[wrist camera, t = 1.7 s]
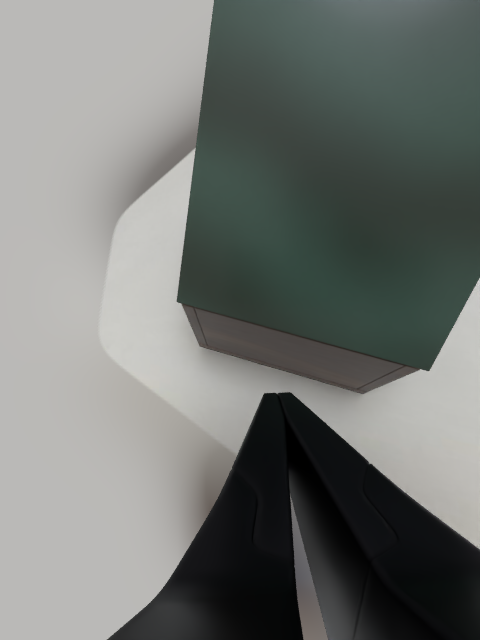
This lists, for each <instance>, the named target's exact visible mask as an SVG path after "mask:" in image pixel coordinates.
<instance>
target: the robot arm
mask: <svg viewBox="0 0 480 640" xmlns="http://www.w3.org/2000/svg"><path fill="white" fill-rule="evenodd" d="M290 494H291V498H292V502H293V506H294V510H295V514H296V517H297V521H298V525H299V529H300V533H301V536H302V540H303V544H304V548H305V552H306V555H307V560H308V563H309V567H310V571H311V575H312V578H313V583H314V586H315V590H316V594H317V598H318V602H319V606H320V609H321V613H322V617H323V621H324V625H325V629H326V632H327V636H328V640H480V549H478V548H477V547H476V546H474V545H473V544H472V543H470V542H469V541H468V540H466V539H465V538H464V537H462V536H461V535H460V534H458V533H457V532H456V531H454V530H453V529H452V528H450V527H449V526H448V525H446V524H445V523H444V522H442V521H441V520H440V519H439V518H437V517H436V516H435V515H433V514H432V513H431V512H429V511H428V510H427V509H425V508H424V507H423V506H421V505H420V504H419V503H418V502H416V501H415V500H414V499H412V498H411V497H410V496H409V495H407V494H406V493H405V492H403V491H402V490H401V489H400V488H399V487H397V486H396V485H395V484H394V483H393V482H392V481H390V480H389V479H388V478H387V477H386V476H384V475H383V474H382V473H381V472H380V471H379V470H378V469H377V468H375V467H374V466H373V465H372V464H369V462H368V461H367V460H366V459H365V458H364V457H363V456H362V455H361V454H359V453H358V452H357V451H356V450H355V449H354V448H353V447H352V446H350V445H349V444H348V443H347V442H346V441H345V440H344V439H343V438H341V437H340V436H339V435H338V434H337V433H336V432H335V431H334V430H332V429H331V428H330V427H329V426H328V425H327V424H326V423H325V422H323V421H322V420H321V419H320V418H319V417H318V416H317V415H316V414H314V413H313V412H312V411H311V410H310V409H309V408H308V407H307V406H305V405H304V404H303V403H302V402H301V401H300V400H299V399H298V398H297V397H295V396H294V395H293V394H292V393H290V392H285V393H278V395H277V394H276V393H265V394H264V395H263V397H262V399H261V402H260V404H259V406H258V409H257V411H256V413H255V416H254V418H253V420H252V423H251V425H250V427H249V429H248V432H247V434H246V436H245V439H244V441H243V443H242V446H241V448H240V450H239V453H238V455H237V457H236V460H235V462H234V465H233V467H232V470H231V471H230V473H229V476H228V478H227V480H226V483H225V485H224V487H223V489H222V491H221V493H220V495H219V497H218V499H217V501H216V502H215V504H214V506H213V508H212V510H211V511H210V513H209V515H208V517H207V518H206V520H205V522H204V523H203V525H202V527H201V528H200V530H199V532H198V533H197V535H196V537H195V538H194V540H193V541H192V543H191V545H190V547H189V548H188V550H187V551H186V553H185V555H184V556H183V558H182V560H181V561H180V563H179V565H178V566H177V568H176V569H175V571H174V573H173V574H172V576H171V577H170V579H169V580H168V582H167V583H166V585H165V586H164V587H163V589H162V590H161V591H160V592H159V594H158V595H157V596H156V597H155V598H154V599H153V600H152V601H151V602H150V603H149V604H148V605H147V606H146V607H145V608H144V609H143V610H141V611H140V612H139V613H138V614H137V615H135V616H134V617H133V618H132V619H131V620H130V621H128V622H127V623H126V624H125V625H124V626H123V627H121V628H120V629H119V630H118V631H117V632H116V633H114V634H113V635H112V636H111V637H110V638H109V639H107V640H303V634H302V627H301V621H300V615H299V608H298V600H297V590H296V579H295V568H294V550H293V549H294V548H293V533H292V518H291V502H290Z"/></svg>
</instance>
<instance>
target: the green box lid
mask: <svg viewBox="0 0 480 640" xmlns="http://www.w3.org/2000/svg"><path fill="white" fill-rule="evenodd" d="M479 278H480V0H214V6H213V14H212V22H211V30H210V38H209V46H208V54H207V62H206V70H205V78H204V86H203V94H202V102H201V110H200V118H199V127H198V135H197V143H196V151H195V159H194V167H193V175H192V183H191V191H190V199H189V207H188V215H187V223H186V231H185V239H184V247H183V255H182V264H181V272H180V280H179V288H178V296H177V302H179V303H182V304H186V305H190V306H193V307H197V308H200V309H204V310H208V311H211V312H215V313H219V314H222V315H226V316H230V317H233V318H237V319H240V320H244V321H248V322H251V323H255V324H259V325H262V326H266V327H270V328H273V329H277V330H281V331H284V332H288V333H291V334H295V335H299V336H302V337H306V338H310V339H313V340H317V341H321V342H324V343H328V344H331V345H335V346H339V347H342V348H346V349H350V350H353V351H357V352H361V353H364V354H368V355H371V356H375V357H379V358H382V359H386V360H390V361H393V362H397V363H401V364H404V365H408V366H411V367H415V368H419V369H422V370H426V371H429V370H430V369H431V367H432V365H433V363H434V361H435V359H436V357H437V356H438V354H439V352H440V350H441V348H442V346H443V344H444V343H445V341H446V339H447V337H448V335H449V333H450V331H451V330H452V328H453V326H454V324H455V322H456V320H457V318H458V317H459V315H460V313H461V311H462V309H463V307H464V305H465V304H466V302H467V300H468V298H469V296H470V294H471V293H472V291H473V289H474V287H475V285H476V283H477V281H478V280H479Z"/></svg>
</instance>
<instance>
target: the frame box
mask: <svg viewBox="0 0 480 640" xmlns="http://www.w3.org/2000/svg"><path fill="white" fill-rule="evenodd" d="M182 306H183V308H184V311H185V313H186V315H187V318H188V320H189V322H190V324H191V327H192V329H193V331H194V334H195V336H196V338H197V340H198V343H199V345H200V346H201V347H205V348H208V349H212V350H215V351H218V352H222V353H225V354H229V355H232V356H236V357H239V358H242V359H246V360H249V361H253V362H256V363H259V364H263V365H266V366H270V367H273V368H277V369H280V370H283V371H287V372H290V373H294V374H297V375H300V376H304V377H307V378H311V379H314V380H318V381H321V382H324V383H328V384H331V385H335V386H338V387H341V388H345V389H348V390H352V391H355V392H359V393H362V394H364V393H366V392H368V391H371V390H373V389H375V388H378V387H380V386H382V385H385V384H387V383H390V382H392V381H394V380H397V379H399V378H401V377H404V376H406V375H409V374H411V373H413V372H416V371H418V370H420V369H419V368H415V367H411V366H408V365H404V364H401V363H397V362H393V361H390V360H386V359H382V358H379V357H375V356H371V355H368V354H364V353H361V352H357V351H353V350H350V349H346V348H342V347H339V346H335V345H331V344H328V343H324V342H321V341H317V340H313V339H310V338H306V337H302V336H299V335H295V334H291V333H288V332H284V331H281V330H277V329H273V328H270V327H266V326H262V325H259V324H255V323H251V322H248V321H244V320H240V319H237V318H233V317H230V316H226V315H222V314H219V313H215V312H211V311H208V310H204V309H200V308H197V307H193V306H190V305H186V304H182Z"/></svg>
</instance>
